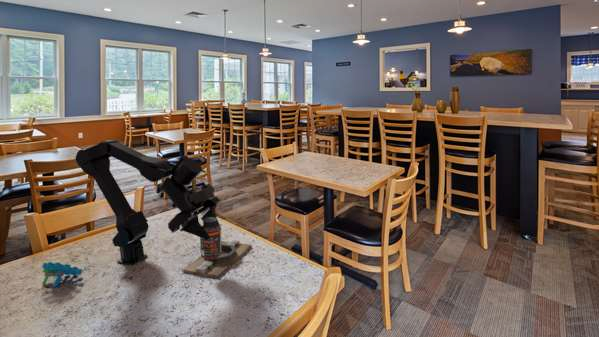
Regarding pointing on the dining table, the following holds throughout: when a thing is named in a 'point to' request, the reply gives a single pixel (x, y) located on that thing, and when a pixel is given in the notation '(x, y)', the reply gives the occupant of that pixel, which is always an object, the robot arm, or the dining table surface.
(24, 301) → the dining table surface
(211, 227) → the supplement bottle
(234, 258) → the octagonal bottle holder
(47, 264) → the teal plastic irregular piece
